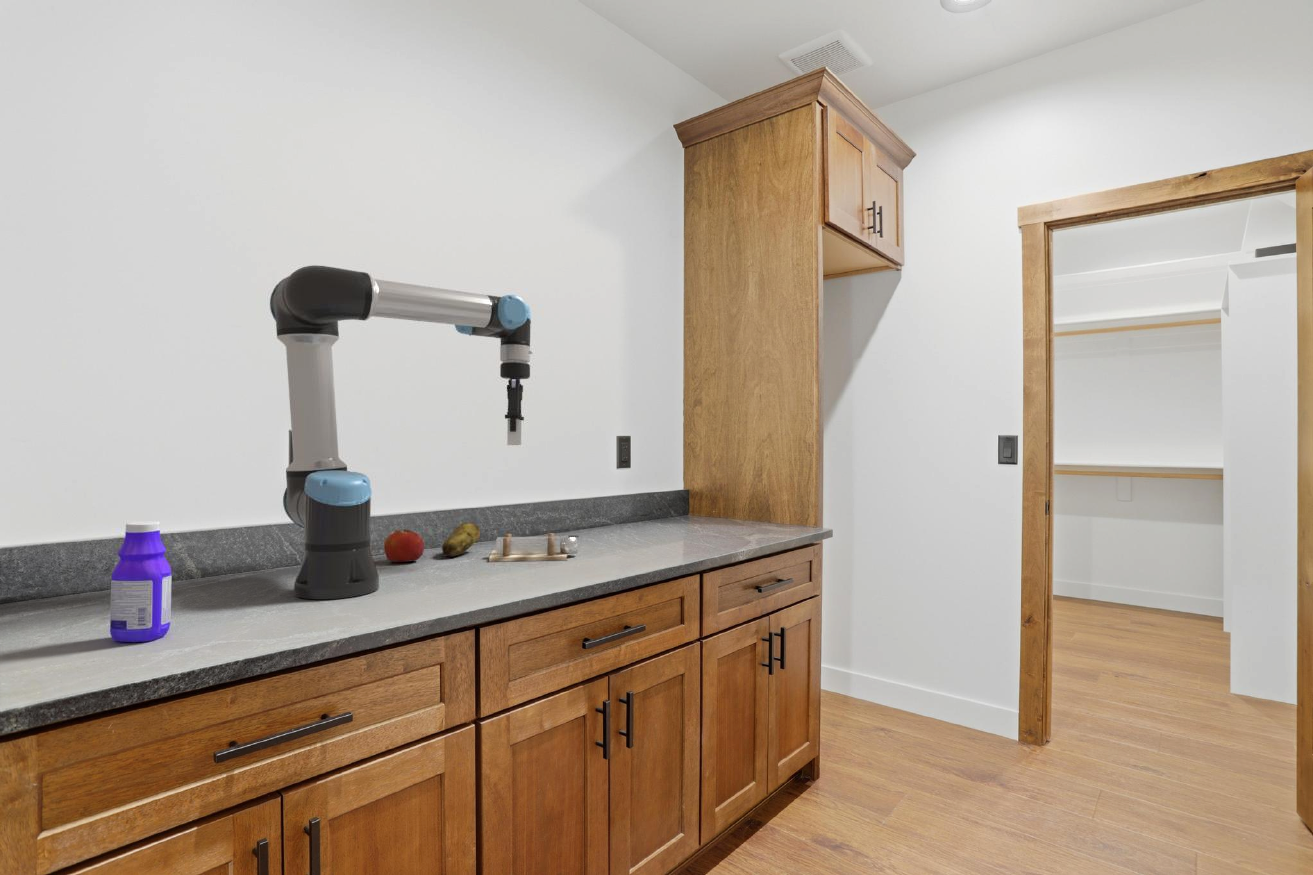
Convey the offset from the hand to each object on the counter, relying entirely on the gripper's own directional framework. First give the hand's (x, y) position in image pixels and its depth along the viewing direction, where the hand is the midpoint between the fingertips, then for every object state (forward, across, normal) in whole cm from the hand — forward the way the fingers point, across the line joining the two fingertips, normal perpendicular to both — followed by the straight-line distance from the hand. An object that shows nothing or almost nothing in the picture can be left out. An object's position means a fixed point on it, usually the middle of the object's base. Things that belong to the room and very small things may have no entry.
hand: (514, 445), depth 172 cm
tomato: (+29, -5, +26) cm, 39 cm away
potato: (+29, +4, +14) cm, 32 cm away
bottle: (+29, -65, +51) cm, 88 cm away
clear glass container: (+28, -2, -6) cm, 28 cm away
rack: (+29, -2, -4) cm, 29 cm away
